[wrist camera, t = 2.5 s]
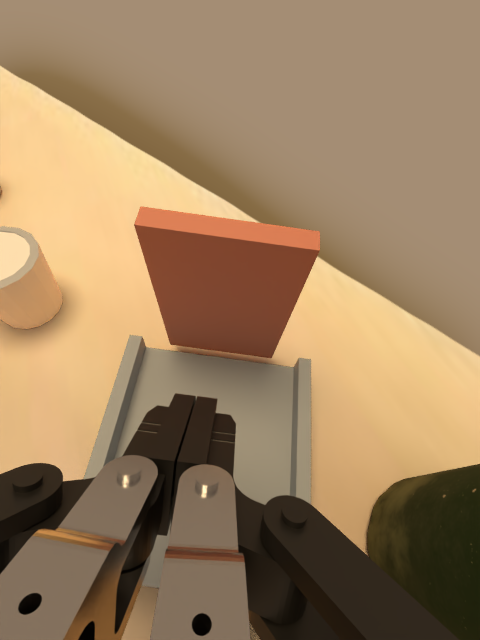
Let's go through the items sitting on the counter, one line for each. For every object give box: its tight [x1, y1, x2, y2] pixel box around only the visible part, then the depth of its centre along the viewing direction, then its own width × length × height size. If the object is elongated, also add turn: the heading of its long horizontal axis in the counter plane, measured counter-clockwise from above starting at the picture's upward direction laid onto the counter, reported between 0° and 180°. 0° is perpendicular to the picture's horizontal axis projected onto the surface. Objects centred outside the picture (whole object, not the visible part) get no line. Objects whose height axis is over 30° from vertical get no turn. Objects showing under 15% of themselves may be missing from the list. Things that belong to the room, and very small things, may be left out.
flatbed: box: [84, 335, 311, 588], centre depth 23 cm, size 15×15×9 cm
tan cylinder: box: [0, 226, 63, 329], centre depth 30 cm, size 7×7×7 cm
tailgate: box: [134, 207, 320, 358], centre depth 23 cm, size 2×9×15 cm, turn 83°
